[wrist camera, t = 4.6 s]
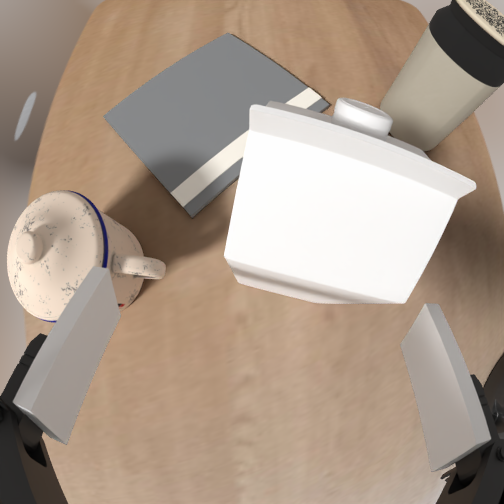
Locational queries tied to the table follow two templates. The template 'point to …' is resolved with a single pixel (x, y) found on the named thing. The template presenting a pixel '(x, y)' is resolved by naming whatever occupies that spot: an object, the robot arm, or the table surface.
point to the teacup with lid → (72, 254)
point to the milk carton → (336, 206)
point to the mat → (204, 117)
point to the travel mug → (447, 73)
